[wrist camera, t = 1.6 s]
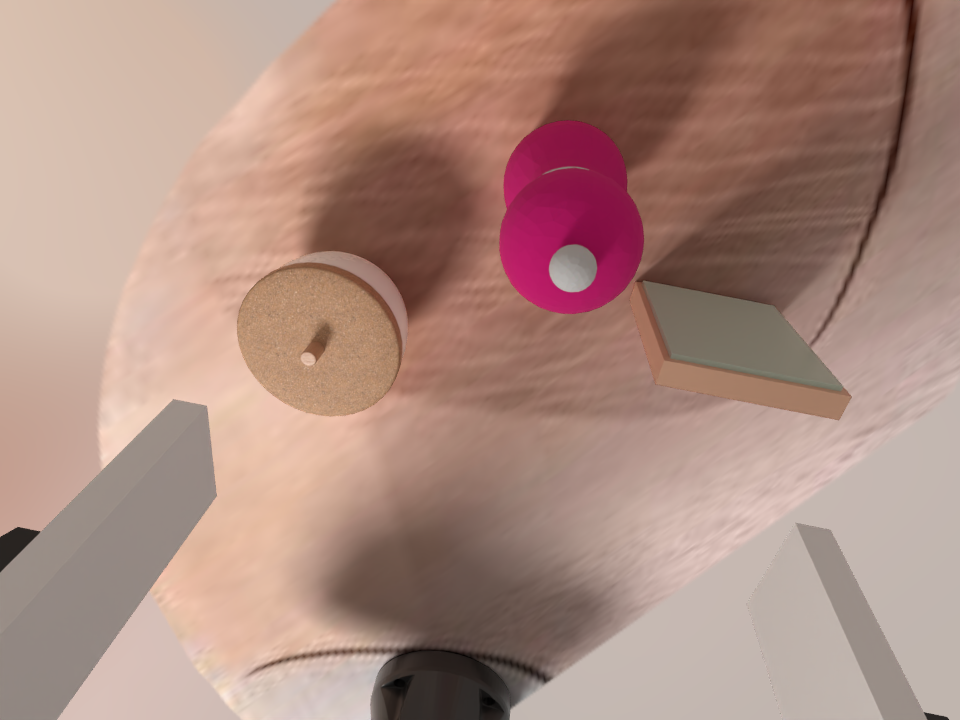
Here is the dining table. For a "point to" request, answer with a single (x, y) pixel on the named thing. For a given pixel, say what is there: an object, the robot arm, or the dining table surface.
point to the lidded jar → (324, 333)
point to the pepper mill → (569, 219)
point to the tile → (732, 351)
